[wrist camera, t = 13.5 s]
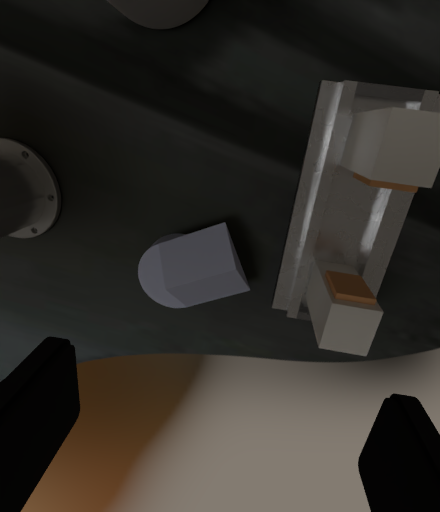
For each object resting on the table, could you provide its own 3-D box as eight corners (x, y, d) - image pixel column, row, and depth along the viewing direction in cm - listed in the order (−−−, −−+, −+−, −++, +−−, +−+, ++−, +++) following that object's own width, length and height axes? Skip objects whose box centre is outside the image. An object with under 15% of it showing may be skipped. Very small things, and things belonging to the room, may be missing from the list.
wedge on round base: (228, 214, 38) (136, 245, 41) (221, 231, 32) (113, 265, 35) (251, 278, 41) (163, 302, 44) (249, 304, 34) (147, 330, 38)
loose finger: (338, 171, 33) (367, 187, 24) (353, 113, 31) (392, 106, 21) (381, 177, 33) (428, 196, 23) (400, 119, 30) (459, 115, 21)
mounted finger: (305, 296, 39) (318, 347, 30) (316, 255, 37) (334, 297, 28) (341, 302, 39) (366, 356, 29) (354, 261, 36) (385, 306, 27)
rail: (271, 301, 41) (272, 314, 39) (319, 82, 31) (324, 77, 29) (362, 317, 41) (369, 331, 38) (442, 97, 30) (460, 93, 28)
